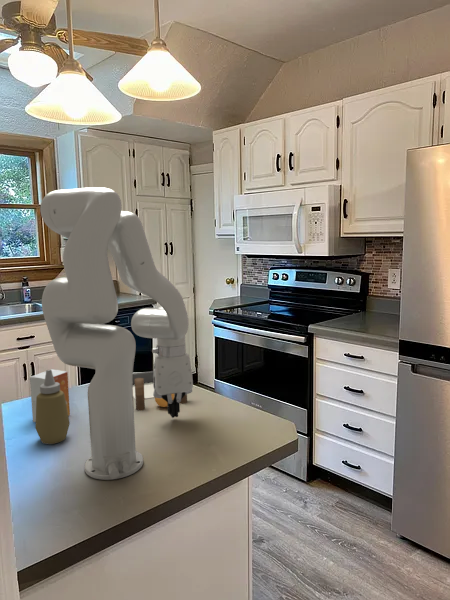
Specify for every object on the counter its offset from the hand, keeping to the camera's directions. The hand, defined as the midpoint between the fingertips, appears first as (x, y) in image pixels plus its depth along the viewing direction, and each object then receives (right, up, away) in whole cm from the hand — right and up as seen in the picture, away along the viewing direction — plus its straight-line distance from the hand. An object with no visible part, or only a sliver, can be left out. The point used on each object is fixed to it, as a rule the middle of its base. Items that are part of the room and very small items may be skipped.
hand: (173, 415), depth 126 cm
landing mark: (-10, +2, +25) cm, 27 cm away
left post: (-11, 0, +10) cm, 15 cm away
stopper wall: (-14, +3, +34) cm, 37 cm away
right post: (+1, 0, +15) cm, 15 cm away
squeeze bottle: (-29, -4, -10) cm, 31 cm away
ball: (-4, +3, +11) cm, 12 cm away
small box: (-35, -2, +4) cm, 35 cm away
